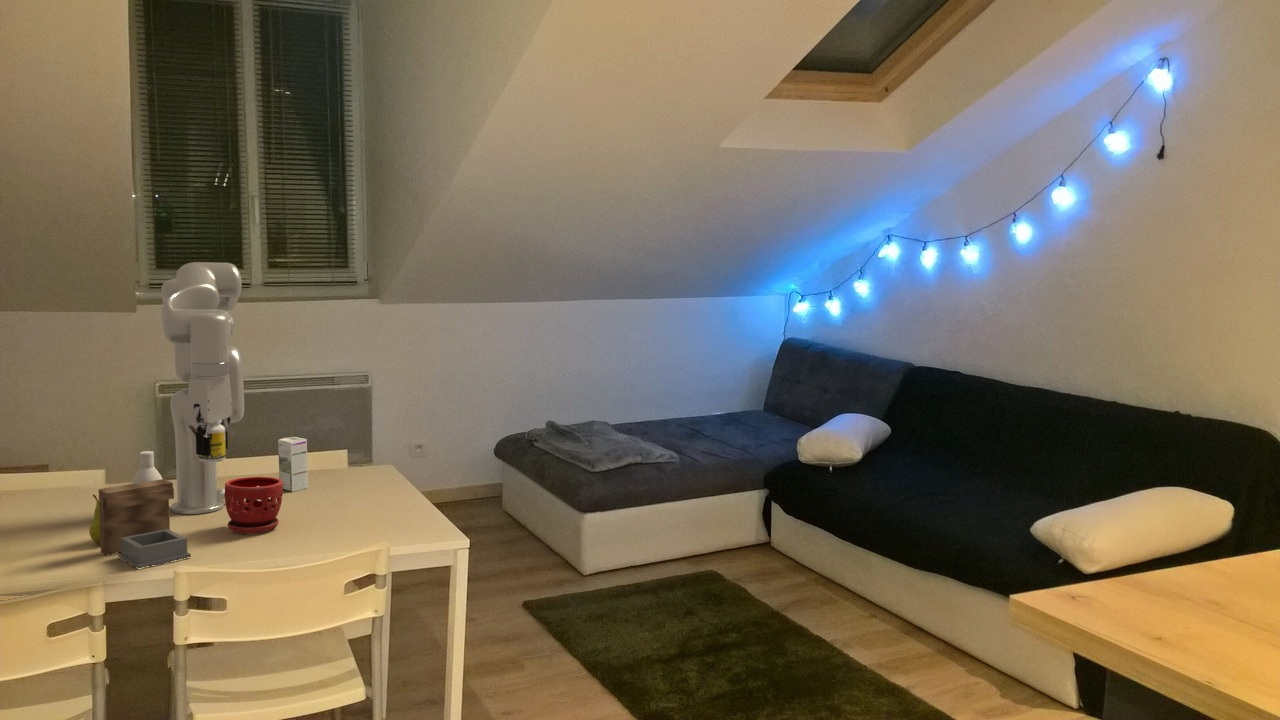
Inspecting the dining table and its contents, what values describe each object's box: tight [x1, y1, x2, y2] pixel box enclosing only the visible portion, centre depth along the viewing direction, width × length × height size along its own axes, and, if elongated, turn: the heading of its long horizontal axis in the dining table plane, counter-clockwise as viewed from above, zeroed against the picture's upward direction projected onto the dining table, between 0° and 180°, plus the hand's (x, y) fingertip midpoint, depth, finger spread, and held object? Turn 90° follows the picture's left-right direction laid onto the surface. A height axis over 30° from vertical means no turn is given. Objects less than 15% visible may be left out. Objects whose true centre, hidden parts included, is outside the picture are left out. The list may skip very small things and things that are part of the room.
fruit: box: [88, 494, 101, 545], centre depth 223 cm, size 6×6×12 cm
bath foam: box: [131, 450, 163, 484], centre depth 230 cm, size 7×7×20 cm
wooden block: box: [98, 478, 175, 556], centre depth 220 cm, size 14×5×15 cm, turn 138°
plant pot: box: [224, 476, 284, 535], centre depth 237 cm, size 13×13×12 cm
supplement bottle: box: [199, 419, 227, 463], centre depth 213 cm, size 5×5×10 cm
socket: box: [117, 529, 192, 568], centre depth 214 cm, size 11×11×4 cm
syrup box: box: [277, 436, 309, 493], centre depth 275 cm, size 6×6×14 cm
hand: (212, 450), depth 214 cm, fingers closed on supplement bottle, 5 cm apart
